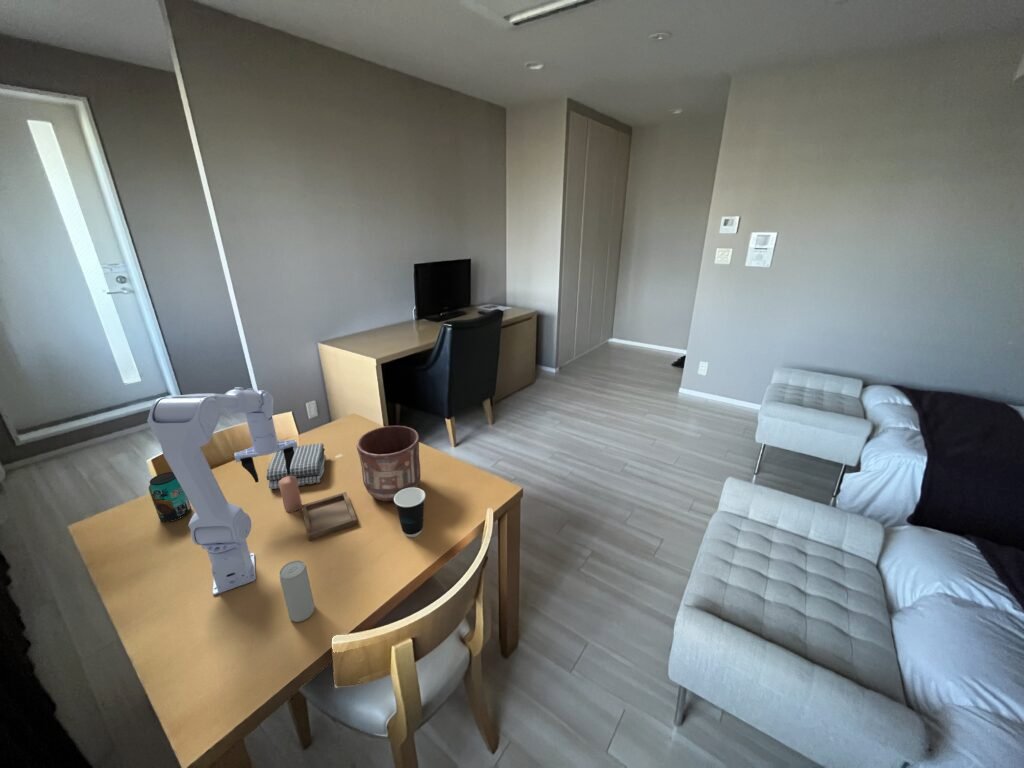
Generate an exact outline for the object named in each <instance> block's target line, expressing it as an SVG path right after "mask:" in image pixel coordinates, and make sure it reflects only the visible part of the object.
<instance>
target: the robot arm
mask: <svg viewBox="0 0 1024 768" xmlns="http://www.w3.org/2000/svg"><path fill="white" fill-rule="evenodd" d="M223 410H225V412H227V413H230V414H235V415H236V414H238V415H239V414H245V419H246V423H247V427H248V432H249V435H250V440H251V444H252V446H251V447H249V448H246V449H243V450H241V451H238V452H234V455H233V456H234V460H235V463H240V462H241V466H242V467H243V468H244V470H246V471H247V472H248V473H249V474H250V475H251V477H252V479H253V480H254V482H255V483H259V476H258V473H257V469H256V467H255V462H254V459H253V458H257V457H261V456H262V457H263V456H268V455H271V454H275V452H278V451H282V450H283V452H284V457H285V463H286V470H287V474H290V465H291V461H292V458H293V456H294V450H293V449H295V448H298V442H297V440H296V438H295V439H290V440H287V439H286V440H279V441H278V438H277V437H278V436H277V432H276V428H275V423H274V418H273V416H274V396H273V394H271V392H269V391H267V390H264V389H262V390H261V389H259V390H258V389H257V390H255V389H254V388H246V389H244V387H240V386H239V387H238V386H237V387H236V386H235V387H234V388H233V389H230V390H228V391H227V392H225V393H190V394H189V393H188V394H182V395H181V394H179V395H174V396H171V397H166V396H164V397H163V396H162V397H159V398H157V399H155V401H154V402H153V403H152V404H151V407H150V411H149V413H148V418H147V421H146V422H147V423H148V425H149V428H150V429H151V431H152V432H153V434H154V436H155V438H156V440H157V442H158V443H159V444H160V447H161V451H162V455H163V456H164V459H165V461H166V463H167V464H168V466H169V468H170V470H171V472H173V473H174V475H175V477H176V478H177V480H178V482H179V484H180V485H181V487H182V489H183V491H184V492H185V494H186V496H187V498H188V499H189V502H190V505H191V507H192V508H193V510H194V513H193V515H192V517H191V518H190V520H189V522H188V527H189V529H190V537H191V540H192V543H194V545H198V546H199V545H200V546H201V548H202V550H206V553H207V555H208V557H209V561H210V565H211V573H212V576H213V584H212V595H213V596H215V595H218V594H222V593H224V592H226V591H229V590H232V589H235V588H238V587H240V586H243V585H246V584H248V583H251V582H254V581H256V562H255V560H256V559H255V553H254V552H251V553H250V550H249V546H248V542H247V538H248V537H249V535H250V533H251V531H252V519H251V517H250V515H249V514H248V513H246V512H244V509H243V508H242V507H240V506H238V505H237V504H233V503H231V502H228V500H227V499H226V497H225V495H224V493H223V491H222V488H221V487H220V485H219V482H218V481H217V479H216V477H215V474H214V473H213V470H212V469H211V466H210V464H209V463H208V461H207V459H206V456H205V454H204V453H203V451H202V449H201V448H202V447H204V446H205V445H207V444H209V443H210V441H211V439H212V437H213V435H214V431H215V430H216V428H217V426H218V422H219V420H220V418H221V416H222V414H223Z"/></svg>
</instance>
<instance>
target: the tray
mask: <svg viewBox="0 0 1024 768" xmlns="http://www.w3.org/2000/svg"><path fill="white" fill-rule="evenodd" d="M301 511H302V514H303V515H304V516H303V519H304V523H305V529H306V534H307V537H308V538H307V539H308V542H310V541H314V540H315V539H319V538H323V537H324V536H327V535H331V534H334V533H336V532H337V533H338V532H339V531H342V530H343V531H344V530H346V529H348V528H351V527H355V526H357V525H358V519H357V516H356V514H355V511H354V509H353V506H352V503H351V501H350V499H349V497H348V493H347V492H346V491H345V492H342V493H341V492H340V493H338V494H334V495H331V496H328V497H324V498H321V499H318V500H314V501H312V502H308V503H304V504H302V505H301Z"/></svg>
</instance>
